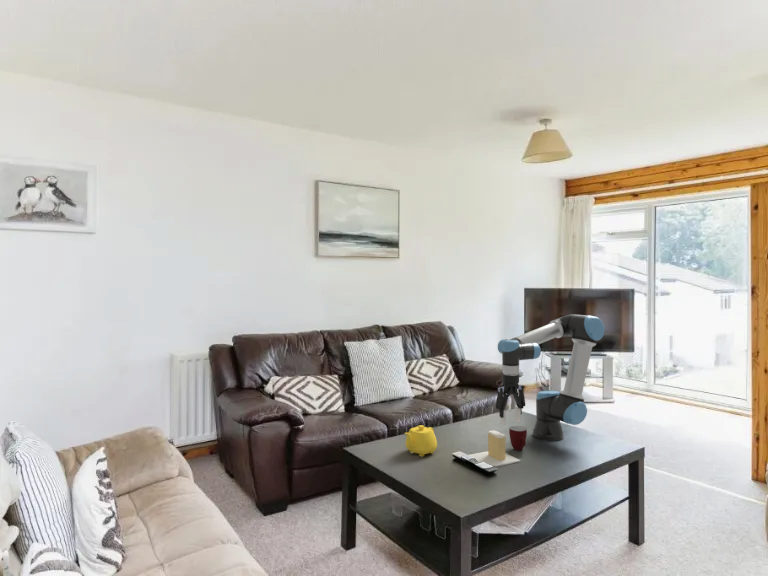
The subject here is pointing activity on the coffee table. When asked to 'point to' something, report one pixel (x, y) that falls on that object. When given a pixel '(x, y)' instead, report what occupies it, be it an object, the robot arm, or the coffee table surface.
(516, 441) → the mug
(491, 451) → the slab
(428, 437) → the teapot
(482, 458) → the mat
